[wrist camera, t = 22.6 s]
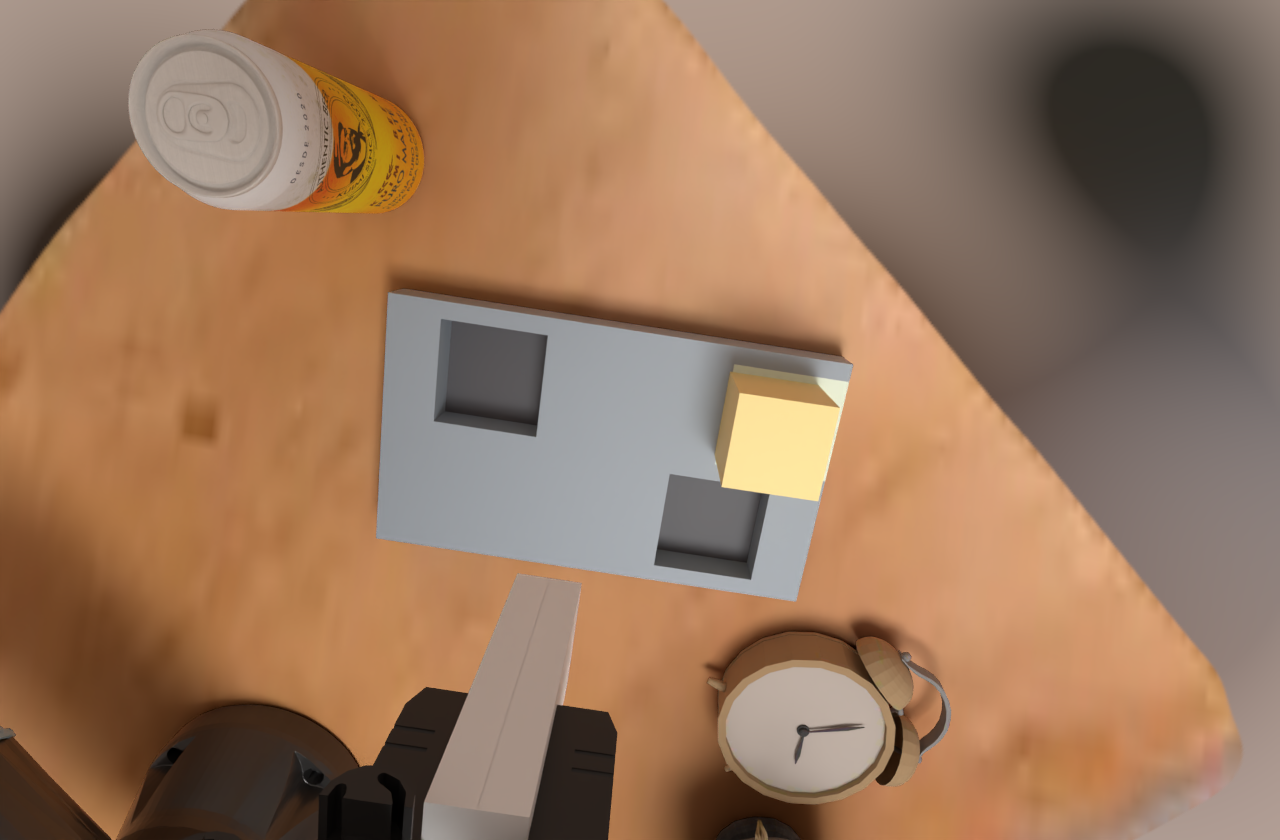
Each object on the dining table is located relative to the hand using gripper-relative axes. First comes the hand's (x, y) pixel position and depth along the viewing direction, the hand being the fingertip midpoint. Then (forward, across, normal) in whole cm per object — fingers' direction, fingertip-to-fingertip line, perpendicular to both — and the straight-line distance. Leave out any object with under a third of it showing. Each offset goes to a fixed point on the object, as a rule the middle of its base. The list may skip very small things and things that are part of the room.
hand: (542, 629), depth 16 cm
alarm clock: (+27, +17, -20) cm, 37 cm away
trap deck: (+26, 0, -4) cm, 27 cm away
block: (+24, +9, 0) cm, 26 cm away
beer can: (+27, -15, +10) cm, 32 cm away
